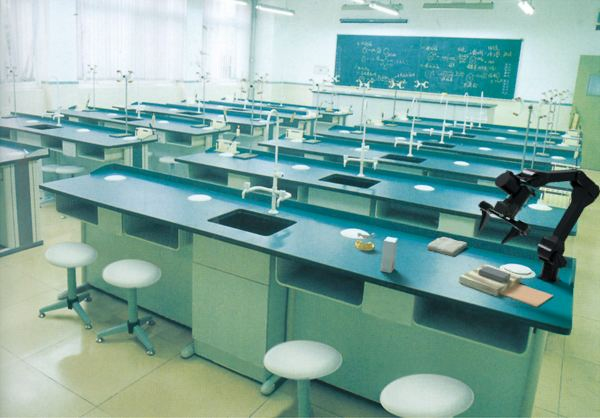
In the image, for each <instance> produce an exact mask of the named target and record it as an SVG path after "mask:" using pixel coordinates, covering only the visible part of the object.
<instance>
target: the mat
mask: <svg viewBox="0 0 600 418" xmlns="http://www.w3.org/2000/svg"><path fill="white" fill-rule="evenodd" d="M499 295H502V296H504V297H508V298H510V299H513V300H515V301H518V302H521V303H524V304H525V305H526V304H527V305H528V306H532V307H535V308H537V307H539V306H541V305H542V304H544V303H546V302H547V301H548V300H550V299H551V298H553V296H554V295H553V294H550V293H548V292H545V291H541V290H538V289H535V288H532V287H530V286H526V285H524V284H521V283H519V284H518V283H517V284H515V285H514V286H512V287H510V288H508V289H506V290H504V291H503V292H501V293H500V294H499Z"/></svg>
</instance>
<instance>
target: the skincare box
mask: <svg viewBox="0 0 600 418" xmlns="http://www.w3.org/2000/svg"><path fill="white" fill-rule="evenodd" d="M398 240H399V239H398V237H390V236H387V237H386V238H385V239H383V244H382V245H383V247H382V253H381V260H380V261H381V262H380V268H379V270H380V272H382V273H383V272H385V273H389V274H390V273H392V272H393V270H394V268H395V264H396V263H395V262H396V256H397V247H398Z"/></svg>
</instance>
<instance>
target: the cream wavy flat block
mask: <svg viewBox="0 0 600 418" xmlns="http://www.w3.org/2000/svg"><path fill="white" fill-rule="evenodd" d="M486 266H488V267H491V268H494V269H497V270H500V271H503V272H506V273H509V274H511V275H510V279H509V280H507V281H505V282H503V283H501V282H498V281H495V280H492V279H489V278H486V277H483V276H480V275H478V274H479V270H480V269H482V268H484V267H486ZM522 278H523V276H522V275H520V274H518V273H514V272H511V271H508V270H504V269H501V268H498V267H495V266H493V265H489V264H484V265H481V266H479V267H477V268H475V269H473V270H469V271H468V272H466V273H464V274H461V275H460V276H459V280H458V283H460V284H462V285H465V286H467V287H470V288H473V289H476V290H478V291H481V292H484V293H486V294H489V295H492V296H494V297H497V296H499V295H501V294H500V293H501V292H503V291H504V290H506V289H508V288H510V287H512V286H514V285H515V284H517V283H518V284H521V283H522Z"/></svg>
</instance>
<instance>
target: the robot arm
mask: <svg viewBox="0 0 600 418" xmlns="http://www.w3.org/2000/svg"><path fill="white" fill-rule="evenodd" d="M563 182H569V186H570V187H571V188H572V191H570V192H571V193H570V200H571V201H570V203H569V205H568V206H567V208H566V209H565V211H564V213H563V215H562V216H561V218H560V220H559V222H558V223H557V225H556V227H555V229H554V230H553V232H552V234H551V235H550V236H548V237H546V236H543V237H542V238H541V240H540V242H539V243H538V244H537V248H536V249H537V250H536V252H537V256H538V260H540V261H541V262H542V266H541V272H540V273H539V274H538V275H536V278H538V279H540V280H543V281H547V282H549V283H553V284H556V282H559V281H560V280H561V277H558V276H559V272H560V269H563V268H566V266H567V264H568V261H567V259H566V258H565V256H564V252H565V251H566V246H565V245H566V243H565V242H566V240H567V239H568V237H569V235H570V233H571V231H572V230H573V229H574V227H575V225H576V223H577V222H578V220H579V218H580V217H581V215H582V213H583V212H584V210H585V209H586V207H588V206H591V204H593V203H594V202H595V201H596V200H597V199H598V197H599V196H600V185H598V184H596V182H595V181H593V179H592V178H591V177H588V176H587V174H586V173H585V172H584V171H583V170H581V169H577V168H570V169H569V168H568V169H556V170H555V169H554V170H553V169H552V170H540V169H536V168H524V169H523V170H522V172H519V173H516V174H515V173H514V172H513V171H512V170H508V169H507V170H506V171H505V172H502V173H501V174H500V175H498V176H497V177H496V178H495V181H494V184H495V186H496V187H497V188H498V189H499V190H501V191H502V192H504V193H505V194H507V195H508V196H507V197H505V198H504V199H503V200H497V201H496V202H495V205H494V206H493V204H491V203H489V202H488V201H486V200H482V201H480V202H479V203H478V205H477V206H478V207H479V211H480V212H481V217H480V218H481V219H480V223H479V227H478V232H481V231H482V230H483V229H484V228H485V226H486V224H487V223H488V222H489V221H490V219H491V217H492V216H491V215H494V216H496V217H498V218H499V219H501V220H503V221H505V222H507V224H510V225H512V226H511V229H510V231H509V232H508V233H507V234H506V235H505V237H504V238H503V239H502V241H501V242H500V245H502V246H503V245H504V244H506V243H507V242H509V241H511V240H512V239H514V238H516V237H518V236H523V235H525V236H528V235H530V232H531V230H532V229H531V226H529V224H527V223H526V222H524V221H522V220H521V219H518V220H515V219H516V216H517V215H518V213H519V212H521V211H522V210H523V206H524V205H525V204H526V202H527V201H528V199H529V198H530V197H533V198H536V197H537V195H536V190H535V189H534V188H536V189H537V188H540V187H541V188H542V187H545V186H546V185H547V184H548V185H549V184H551V183H563ZM529 187H531V188H529Z"/></svg>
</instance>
